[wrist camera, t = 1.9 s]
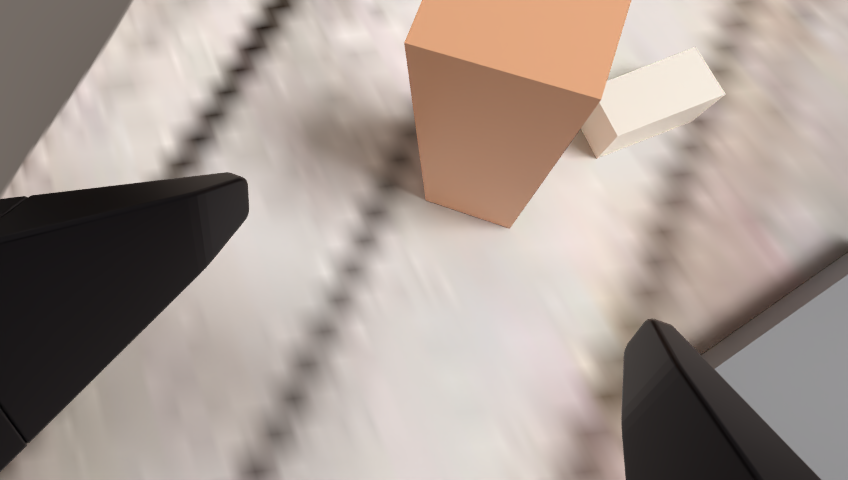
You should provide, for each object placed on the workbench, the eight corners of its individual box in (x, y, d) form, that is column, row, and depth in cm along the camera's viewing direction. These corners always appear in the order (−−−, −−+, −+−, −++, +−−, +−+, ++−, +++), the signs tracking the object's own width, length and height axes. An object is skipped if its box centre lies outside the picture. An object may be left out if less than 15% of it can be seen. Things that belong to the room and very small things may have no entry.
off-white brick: (595, 160, 23) (617, 135, 20) (572, 116, 24) (591, 86, 21) (689, 123, 23) (725, 94, 20) (664, 80, 24) (695, 46, 21)
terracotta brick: (509, 228, 22) (600, 99, 9) (425, 200, 23) (404, 42, 10) (535, 149, 23) (651, -66, 10) (454, 124, 24) (468, -110, 11)
